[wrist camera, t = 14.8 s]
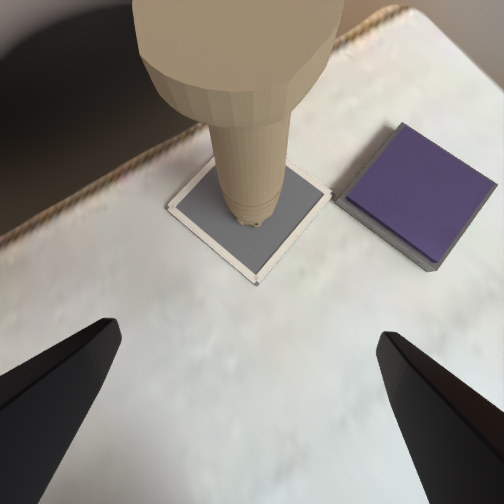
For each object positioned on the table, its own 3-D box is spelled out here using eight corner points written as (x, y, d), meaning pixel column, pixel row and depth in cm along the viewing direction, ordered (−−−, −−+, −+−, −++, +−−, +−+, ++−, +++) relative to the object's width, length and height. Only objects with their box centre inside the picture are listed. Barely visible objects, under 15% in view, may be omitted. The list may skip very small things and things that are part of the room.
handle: (214, 241, 20) (96, 68, 5) (233, 170, 21) (182, -131, 7) (273, 254, 20) (321, 110, 5) (289, 181, 21) (366, -107, 6)
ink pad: (427, 272, 19) (439, 270, 18) (334, 203, 21) (339, 196, 19) (486, 190, 21) (501, 182, 19) (395, 130, 22) (404, 119, 21)
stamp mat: (256, 286, 19) (256, 286, 19) (166, 209, 21) (164, 207, 21) (333, 195, 21) (334, 193, 20) (243, 128, 22) (243, 125, 22)
